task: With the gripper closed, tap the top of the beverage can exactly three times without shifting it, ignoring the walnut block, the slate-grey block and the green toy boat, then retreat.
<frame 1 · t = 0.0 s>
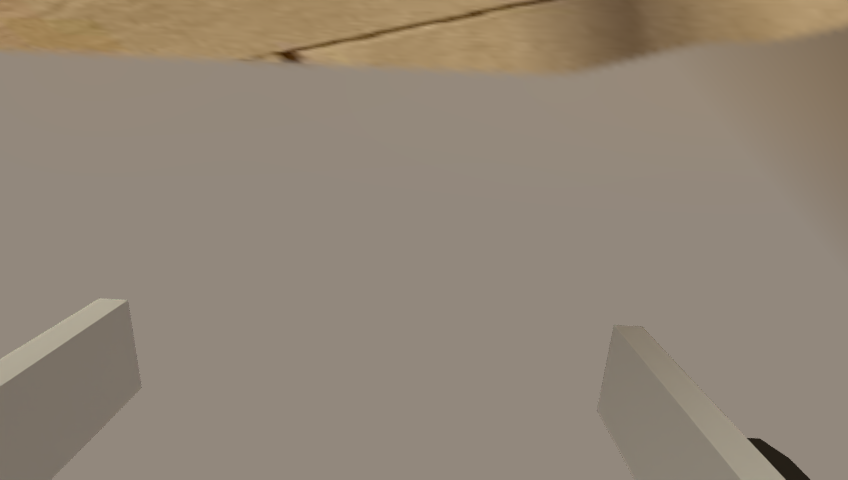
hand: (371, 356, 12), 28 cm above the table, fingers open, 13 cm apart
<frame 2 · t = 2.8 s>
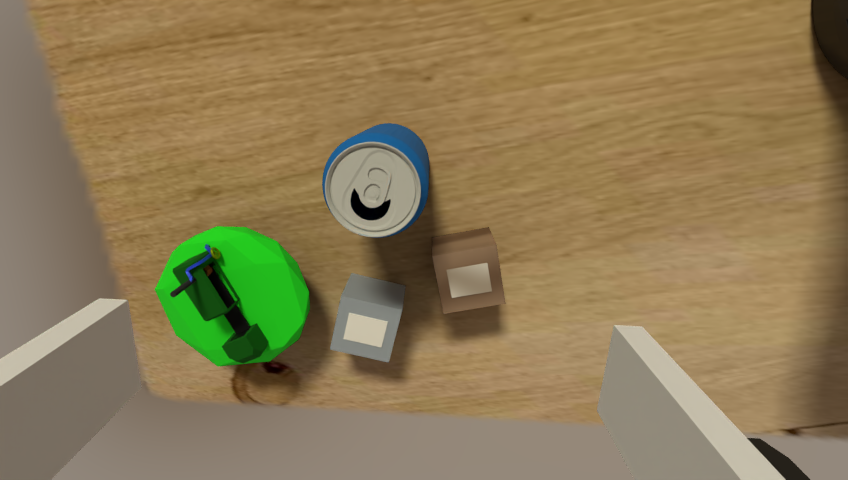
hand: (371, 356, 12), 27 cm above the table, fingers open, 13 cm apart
green toy boat: (258, 277, 41), on the table
beverage can: (390, 162, 38), on the table
slate block: (372, 303, 42), on the table
walnut block: (464, 258, 40), on the table
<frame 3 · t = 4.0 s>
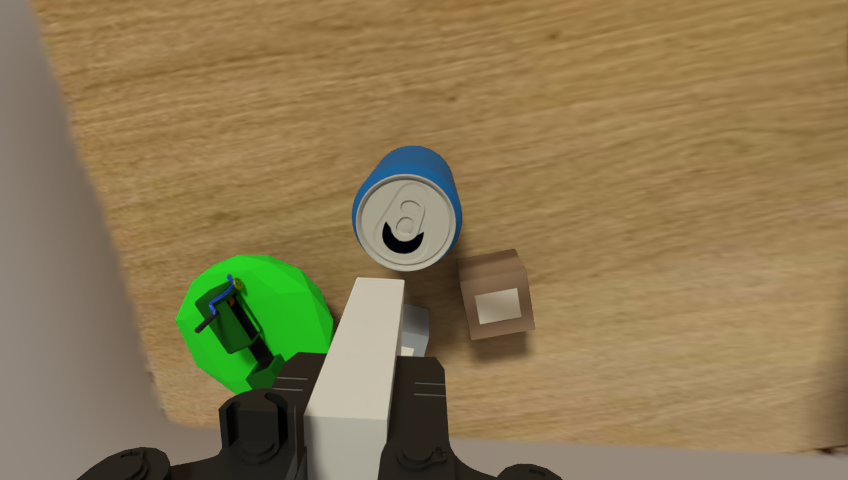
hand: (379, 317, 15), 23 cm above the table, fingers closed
green toy boat: (277, 302, 40), on the table
beverage can: (413, 184, 37), on the table
slate block: (395, 327, 41), on the table
walnut block: (489, 280, 39), on the table
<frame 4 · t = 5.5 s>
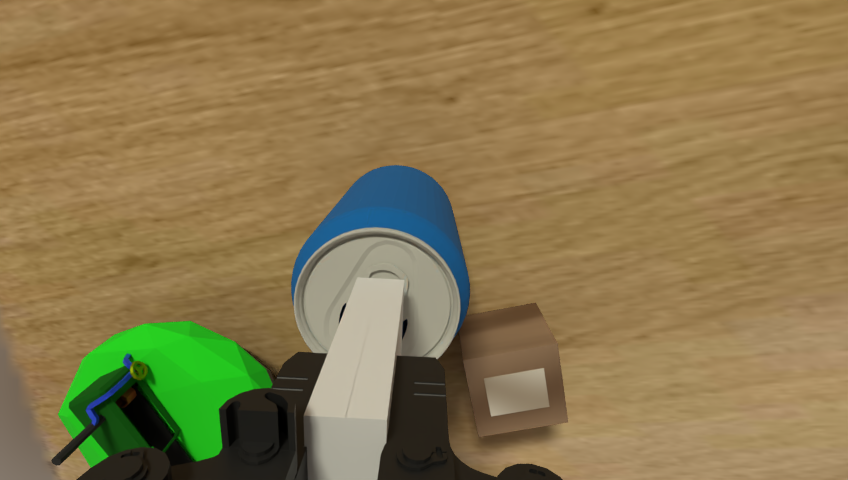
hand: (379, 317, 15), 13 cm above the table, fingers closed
green toy boat: (217, 373, 30), on the table
beverage can: (397, 217, 27), on the table
walnut block: (501, 344, 29), on the table
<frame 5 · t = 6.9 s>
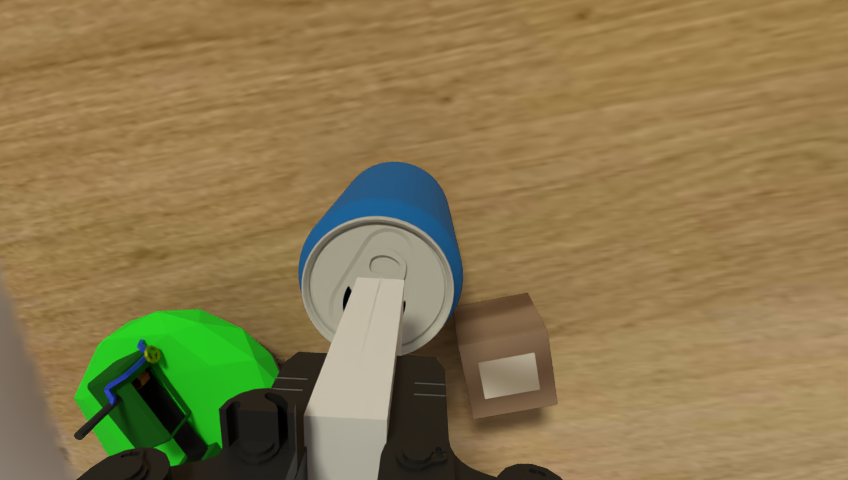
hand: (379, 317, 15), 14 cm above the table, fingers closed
green toy boat: (223, 361, 31), on the table
beverage can: (396, 211, 28), on the table
walnut block: (495, 332, 31), on the table
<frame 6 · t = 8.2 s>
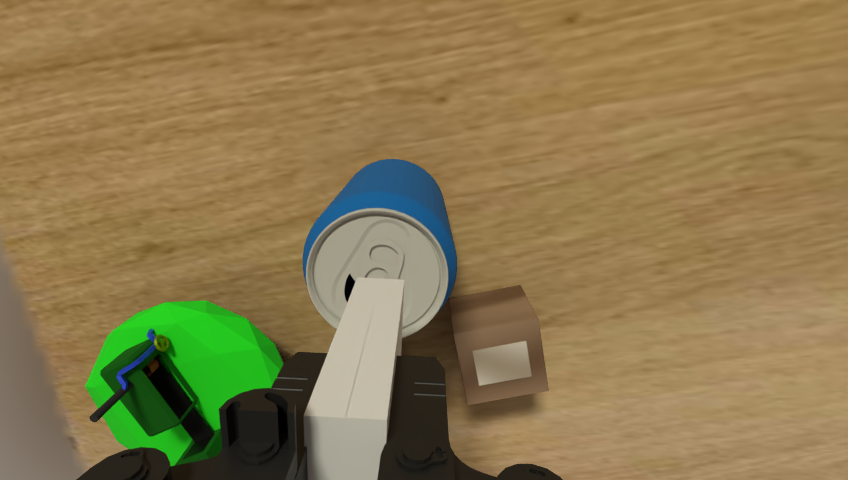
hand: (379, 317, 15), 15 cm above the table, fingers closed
green toy boat: (227, 352, 33), on the table
beverage can: (394, 207, 29), on the table
walnut block: (489, 323, 32), on the table
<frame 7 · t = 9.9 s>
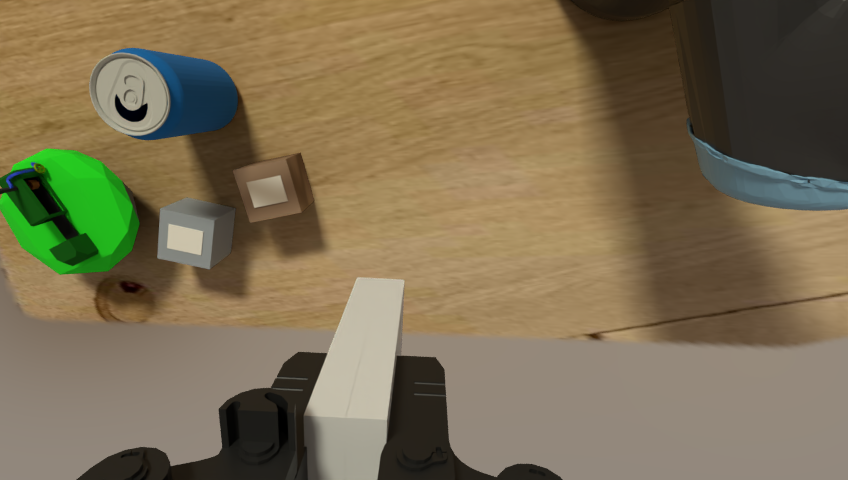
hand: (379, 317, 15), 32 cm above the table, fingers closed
green toy boat: (106, 204, 47), on the table
beverage can: (208, 95, 44), on the table
slate block: (209, 225, 48), on the table
walnut block: (284, 182, 46), on the table
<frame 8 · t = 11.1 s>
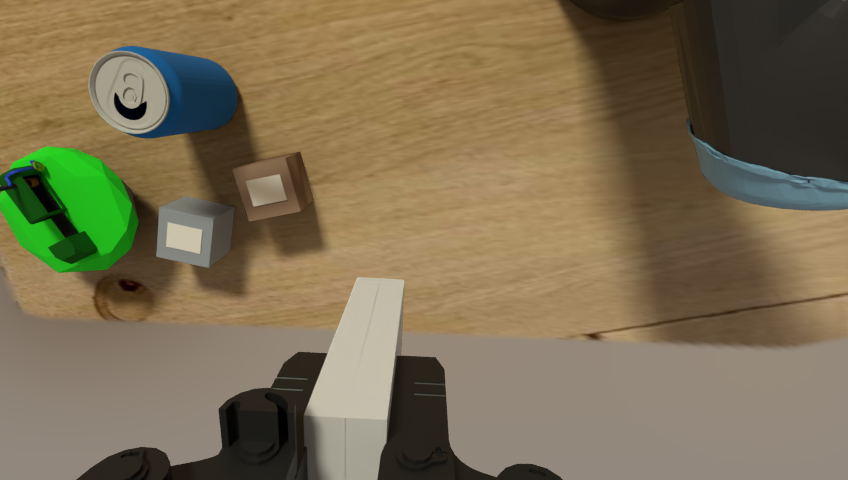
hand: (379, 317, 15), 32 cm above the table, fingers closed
green toy boat: (105, 202, 47), on the table
beverage can: (207, 94, 44), on the table
slate block: (208, 224, 48), on the table
walnut block: (283, 180, 46), on the table
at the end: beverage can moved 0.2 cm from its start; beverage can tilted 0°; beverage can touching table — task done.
